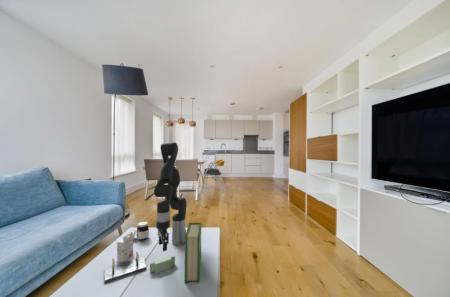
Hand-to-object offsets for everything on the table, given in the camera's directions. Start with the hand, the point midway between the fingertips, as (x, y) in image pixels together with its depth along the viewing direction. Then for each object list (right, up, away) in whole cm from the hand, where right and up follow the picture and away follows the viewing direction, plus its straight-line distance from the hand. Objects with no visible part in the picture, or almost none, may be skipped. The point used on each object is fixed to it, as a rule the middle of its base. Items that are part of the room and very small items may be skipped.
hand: (162, 247), depth 105 cm
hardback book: (+18, -12, -3) cm, 22 cm away
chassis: (-20, -12, -2) cm, 24 cm away
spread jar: (-30, -13, +35) cm, 48 cm away
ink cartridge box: (-28, -12, +10) cm, 32 cm away
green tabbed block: (0, -12, 0) cm, 12 cm away
